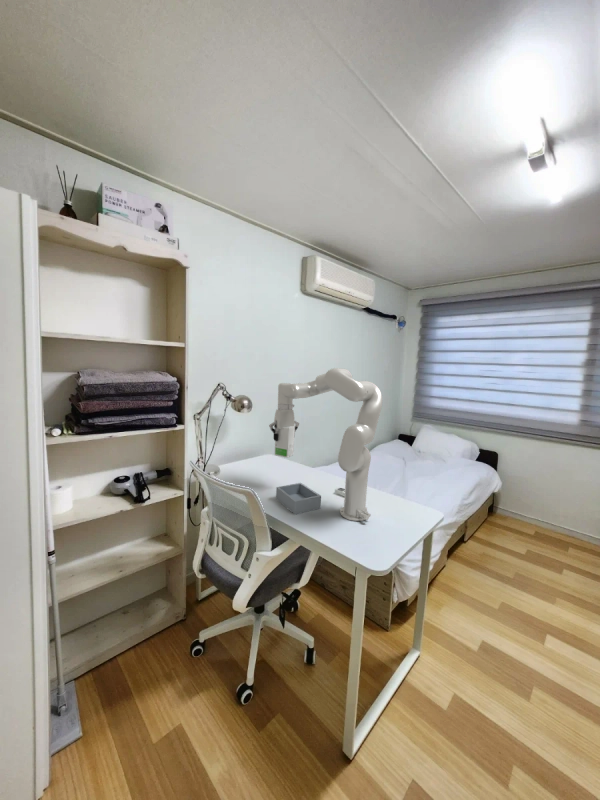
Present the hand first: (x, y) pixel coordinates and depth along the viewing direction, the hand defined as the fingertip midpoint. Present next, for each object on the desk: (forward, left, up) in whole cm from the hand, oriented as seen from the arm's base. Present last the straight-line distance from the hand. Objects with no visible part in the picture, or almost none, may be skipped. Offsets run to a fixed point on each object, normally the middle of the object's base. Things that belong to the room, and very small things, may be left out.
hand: (284, 439), depth 159 cm
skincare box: (-1, 0, -8) cm, 8 cm away
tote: (-18, +1, -27) cm, 32 cm away
